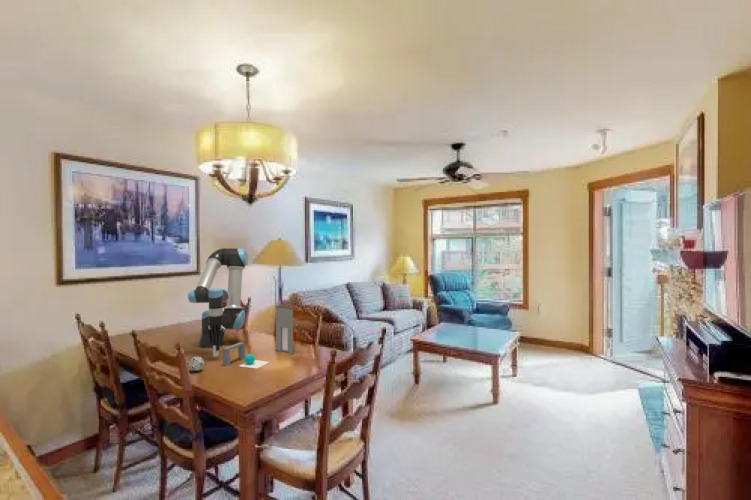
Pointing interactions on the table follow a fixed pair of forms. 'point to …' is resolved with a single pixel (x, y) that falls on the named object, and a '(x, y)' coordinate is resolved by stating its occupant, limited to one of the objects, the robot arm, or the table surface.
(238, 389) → the table surface
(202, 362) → the game die
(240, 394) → the table surface
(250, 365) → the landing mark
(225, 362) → the bridge
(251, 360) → the ball
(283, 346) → the cabinet
